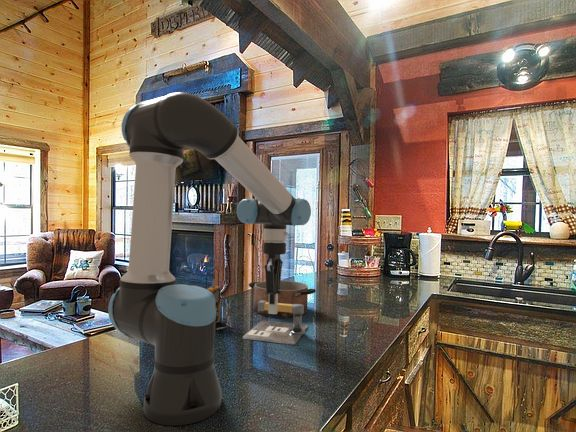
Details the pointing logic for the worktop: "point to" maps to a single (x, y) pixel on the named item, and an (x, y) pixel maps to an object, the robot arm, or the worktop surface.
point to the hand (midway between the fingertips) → (272, 313)
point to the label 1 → (259, 333)
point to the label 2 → (277, 329)
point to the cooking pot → (282, 296)
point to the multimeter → (216, 298)
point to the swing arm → (283, 307)
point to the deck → (288, 338)
